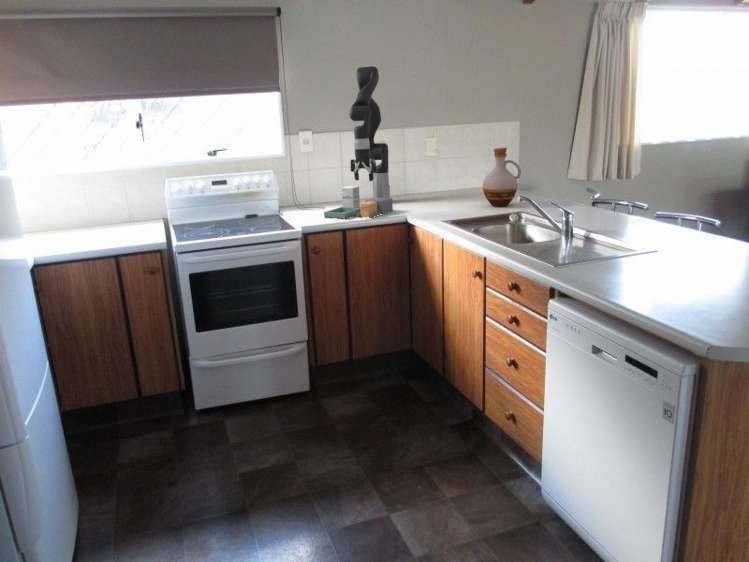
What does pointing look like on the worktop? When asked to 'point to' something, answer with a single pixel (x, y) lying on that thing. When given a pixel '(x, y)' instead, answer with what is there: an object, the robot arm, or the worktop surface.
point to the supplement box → (350, 196)
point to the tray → (342, 213)
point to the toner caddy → (368, 208)
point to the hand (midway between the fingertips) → (363, 180)
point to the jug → (500, 181)
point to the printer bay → (380, 206)
